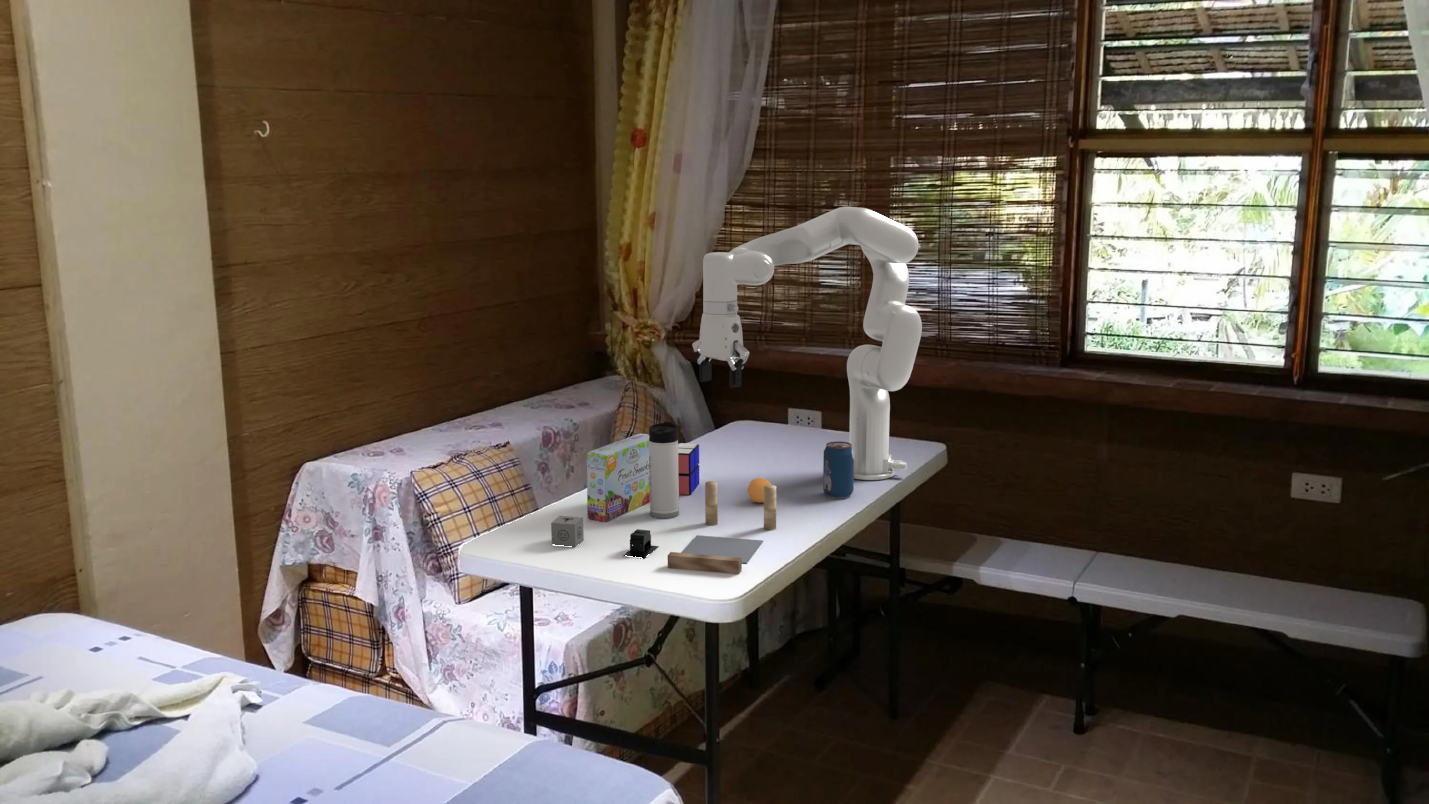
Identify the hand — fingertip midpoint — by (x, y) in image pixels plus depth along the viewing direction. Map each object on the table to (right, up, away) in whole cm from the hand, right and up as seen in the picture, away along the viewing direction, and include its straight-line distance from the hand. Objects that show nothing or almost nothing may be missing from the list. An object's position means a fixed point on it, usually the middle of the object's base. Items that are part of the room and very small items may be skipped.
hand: (720, 384), depth 279 cm
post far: (-2, -30, -16) cm, 34 cm away
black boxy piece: (-16, -34, -33) cm, 50 cm away
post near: (+10, -30, -19) cm, 37 cm away
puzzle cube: (-11, -25, +11) cm, 29 cm away
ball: (+9, -24, -1) cm, 25 cm away
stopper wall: (-3, -36, -44) cm, 57 cm away
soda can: (+27, -26, +5) cm, 38 cm away
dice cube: (-31, -33, -28) cm, 53 cm away
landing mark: (0, -33, -33) cm, 47 cm away
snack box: (-21, -28, -5) cm, 35 cm away
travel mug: (-12, -29, -9) cm, 32 cm away
